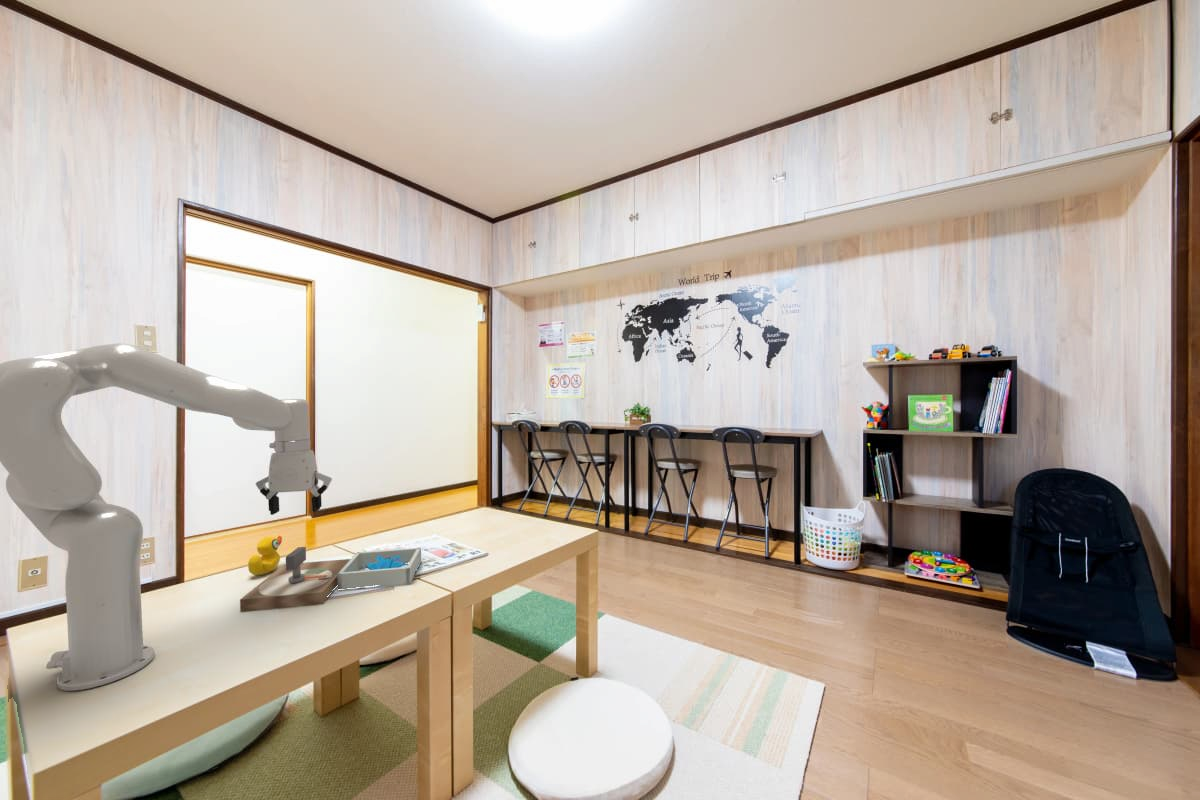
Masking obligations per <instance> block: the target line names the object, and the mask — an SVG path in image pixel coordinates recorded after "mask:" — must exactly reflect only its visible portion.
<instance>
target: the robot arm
mask: <svg viewBox="0 0 1200 800" xmlns="http://www.w3.org/2000/svg"><path fill="white" fill-rule="evenodd" d="M111 387H112V388H113V387H114V388H115V387H116V388H119V389H123V390H127V391H129V392H132V393H134V394H137V395H142V396H145V397H147V398H150V399H153V400H156V401H160V402H162V403H164V404H168V405H171V406H174V407H177V408H180V409H184V410H188V411H192V412H197V413H199V412H200V413H205V414H212V415H220V416H224V417H228V418H232V421H233V422H234V424H235V425H237V427H239V428H241V429H244V430H247V431H248V430H249V431H261V432H262V431H264V432H265V431H266V432H274V441H273V442H270V443H269V445H268V447H269V449H274V452H272V453H271V455H270V460H269V468H268V476H266V477H264V478H262V479H260V480H258V481H256V482H255V486H256V488H257V489H258V490H259V492H260V493H261V494H262V496H264V497H265V499H266V500H268V511H269V512H270V513H269V514H270V515H272V516H274V515H275V514H277V513H279V512H280V497H279V496H278V494H279V493H293V492H306V491H309V492H310V493H311V494H312V495H313V496H312V497H311V512H312V513H316V512H318V511H319V510H320V509H321V508H322V506H323V505H322V504H323V503H322V495H323V494H324V492H325V491H326V490H328V488H329V486H330V485H331V482H332V480H333V478H332V477H330V476H328V475H325V474H323V473H321V472H319V470H318V467H317V459H316V455H315V452H314V450H313V449H312V450H311V428H310V427H311V426H310V407H309V406H310V405H309V402H308V401H307V400H306V399H302V398H288V399H287V398H285V399H279V398H276V397H274V396H271V395H269V394H267V393H264V392H262V391H259V390H257V389H254V388H251V387H249V386H245V385H242V384H238V383H235V382H233V381H229V380H226V379H223V378H221V377H217V376H215V375H211V374H209V373H205V372H202V371H200V370H197V369H195V368H192V367H189V366H187V365H185V364H182V363H179V362H177V361H175V360H173V359H169V358H168V357H165V356H162V355H160V354H158V353H155V352H152V351H150V350H147V349H145V348H142V347H139V346H136V345H133V344H130V343H129V344H128V343H111V344H110V343H109V344H100V345H95V346H90V347H85V348H80V349H74V350H68V351H63V352H57V353H49V354H44V355H39V356H38V355H36V356H31V357H26V358H18V359H17V358H16V359H11V360H7V361H5V362H1V363H0V463H1V464H0V465H2V467H4V469H5V470H6V471H7V473H8V475H7V477H6V479H5V489H6V492H7V494H8V496H9V498H10V499H11V500H12V502H13V503H14V504H15V506H16V507H17V508H18V509H19V510H20V511H21V512H22V513H23V514H24V516H26V518H27V519H28V520H29V521H30V523H31V524H32V525H33V526H34V527H35V528H36V529H37V530H38V531H39V533H40V534H42V535H43V537H44V538H45V539H46V540H47V541H48V542H50V544H52V545H53V546H54V547H56V548H59V549H61V550H64V551H66V552H67V556H68V557H67V566H66V570H65V571H66V573H65V601H66V602H65V605H66V616H67V617H66V621H67V643H68V650H63V651H62V650H61V651H55V652H54V653H53V654H52V655H51V657H50V659H49V661H48V662H47V663H46V669H47V670H50V669H58V668H61V669H62V673H61V674H60V675H58V676H57V679H56V687H57V689H59V690H61V691H69V692H70V691H72V692H73V691H81V690H83V691H84V690H88V689H93V688H96V687H99V686H100V687H101V686H104V685H106V684H110V683H113V682H115V681H118V680H121V679H123V678H126V677H128V676H130V675H131V674H134V673H135V672H138V671H139V670H141V669H142V668H144V667H145V666H147V665H148V664H149V663H150V662H151V661H152V660H153V659H154V657H155V655H156V654H155V648H154V647H152V646H151V645H145V644H144V635H143V634H144V633H143V612H142V611H143V610H142V590H141V589H142V588H141V587H142V586H141V571H140V570H141V566H140V565H141V563H140V562H141V551H142V544H143V539H144V536H143V535H144V533H143V532H144V527H143V523H142V522H141V519H140V518H139V516H138V515H137V514H136V513H135V512H133V511H131V510H130V509H128V508H126V507H123V506H119V505H114V504H111V503H108V502H106V501H105V499H104V498H103V497H102V496H101V494H100V492H101V489H102V486H103V481H102V476H101V474H100V472H99V471H98V469H96V467H95V466H94V465H93V464H92V463H91V462H90V461H89V460H88V458H87V457H86V455H85V454H84V453H83V452H82V450H81V449H80V447H78V445H77V444H76V442H75V441H74V440H73V439H72V437H71V435H70V434H69V432H68V431H67V429H66V428H65V426H64V424H63V423H64V422H63V421H62V412H63V408H64V406H65V405H66V403H68V400H69V399H71V397H74V396H78V395H82V394H86V393H89V392H90V393H92V392H96V391H99V390H102V389H107V388H111ZM319 481H322V485H321V487H320V486H318V484H319ZM266 484H268V485H267V486H268V487H267V486H266Z"/></svg>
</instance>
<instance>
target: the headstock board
mask: <svg viewBox="0 0 1200 800" xmlns="http://www.w3.org/2000/svg"><path fill="white" fill-rule="evenodd" d="M350 560H351V558H346V559H335V560H334V559H333V560H321V561H319V560H318V561H310V562H309V561H308V562H303V563H301V574H304V575H305V576H315V575H327V577H325V578H313V579H304V580H303V581H300V582H297V583H289V582H288V578H289V577H291V576H293V574H292V570H287V571H286V563H284V564H283V565H282V566H280V567H279V568H277V570H275V571H274V572H273V573H271V574H270V575H269V576H267V577H266V578H264V579H263V581H261V582H260V583H259V584H257V585H256V586H255V587H254V588H253V589H251V590H250V591H249V592H248V593H246V594H245V595H244V596H242V597H241V598H240V599H239V609H240V610H239V611H240V613H242V612H253V611H263V610H265V611H266V610H274V609H285V607H286V608H294V607H295V608H296V607H305V606H315V605H316V606H317V605H323V604H324V603H325V602H326V601H327V600H328V599H327V596H328V595H329V594H330V593H331V592H332V590H333V589H334V588H335V587H336V586H337V585H338V583H337V574H338V573H339V572H340V571H341V570H342V568H343V567H344V566H345V565H346V564H347V563H348V562H349V561H350Z"/></svg>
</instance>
